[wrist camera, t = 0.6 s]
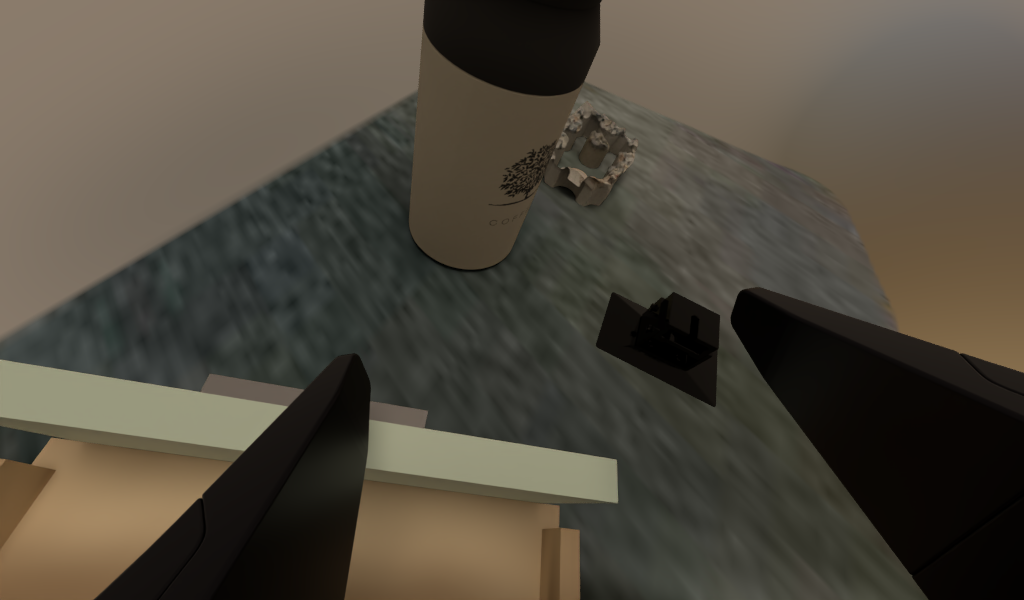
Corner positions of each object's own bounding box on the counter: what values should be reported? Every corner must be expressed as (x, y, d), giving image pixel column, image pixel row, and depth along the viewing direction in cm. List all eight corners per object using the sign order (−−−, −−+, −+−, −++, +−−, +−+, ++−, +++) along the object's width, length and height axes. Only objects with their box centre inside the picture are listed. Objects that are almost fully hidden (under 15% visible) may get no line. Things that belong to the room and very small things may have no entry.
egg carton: (592, 219, 34) (614, 184, 31) (523, 173, 35) (538, 135, 31) (631, 166, 40) (653, 133, 37) (572, 129, 41) (589, 93, 37)
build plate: (569, 348, 26) (599, 317, 23) (593, 276, 31) (622, 240, 27) (726, 428, 27) (782, 409, 23) (729, 345, 31) (776, 318, 27)
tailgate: (540, 503, 17) (617, 503, 11) (79, 441, 14) (-156, 395, 8) (543, 460, 18) (616, 439, 12) (110, 393, 15) (-80, 319, 9)
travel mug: (391, 201, 28) (397, -163, 14) (483, 184, 32) (566, -116, 17) (436, 285, 25) (505, -58, 11) (531, 256, 29) (678, -29, 15)
